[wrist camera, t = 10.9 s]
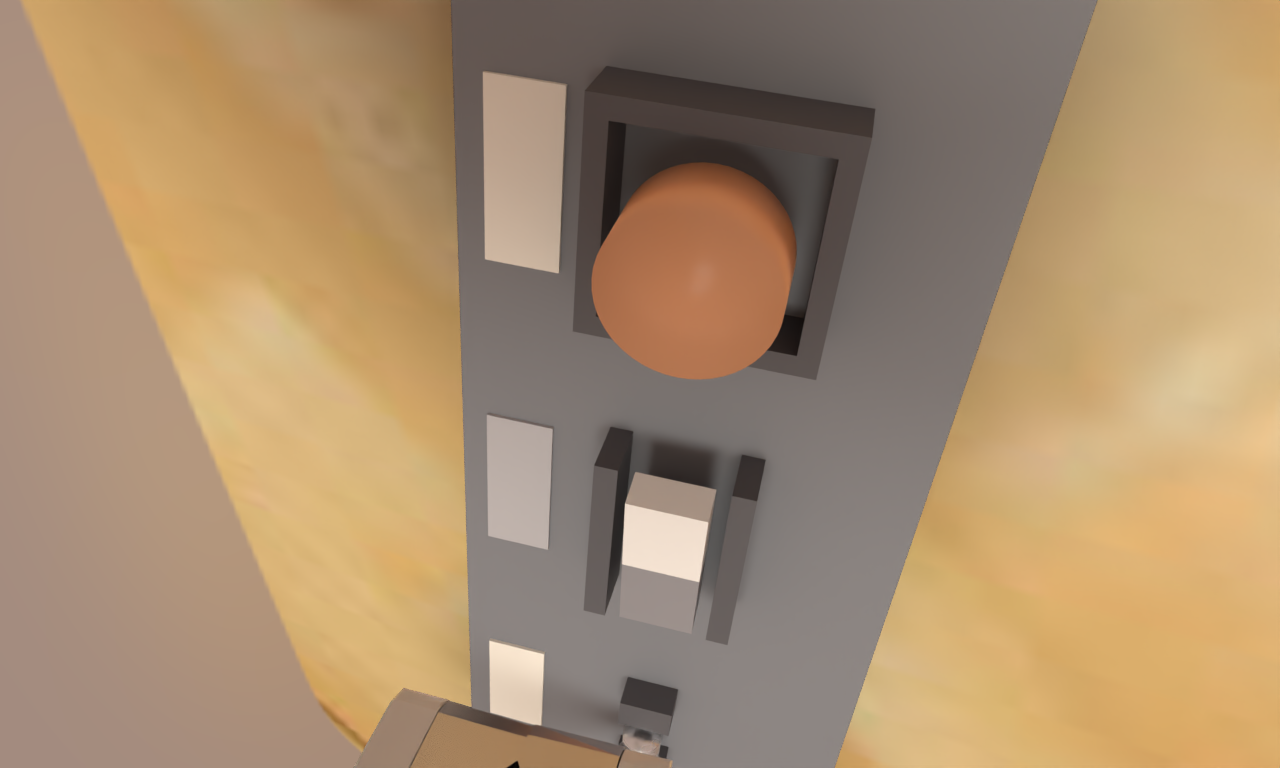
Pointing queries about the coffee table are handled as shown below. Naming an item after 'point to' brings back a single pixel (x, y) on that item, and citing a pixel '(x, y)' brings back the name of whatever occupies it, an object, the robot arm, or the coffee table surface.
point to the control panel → (763, 391)
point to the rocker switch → (664, 551)
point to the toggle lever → (641, 740)
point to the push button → (696, 271)
